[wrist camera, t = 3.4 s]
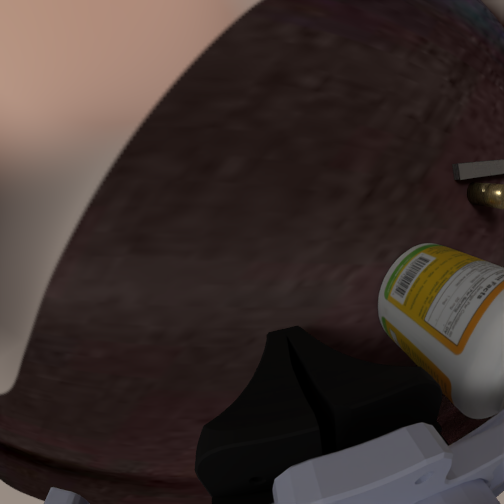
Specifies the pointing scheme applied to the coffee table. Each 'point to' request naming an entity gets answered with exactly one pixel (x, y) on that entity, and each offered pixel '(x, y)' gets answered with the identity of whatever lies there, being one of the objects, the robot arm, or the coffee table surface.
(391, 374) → the robot arm
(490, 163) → the frame
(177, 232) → the coffee table surface
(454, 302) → the supplement bottle
